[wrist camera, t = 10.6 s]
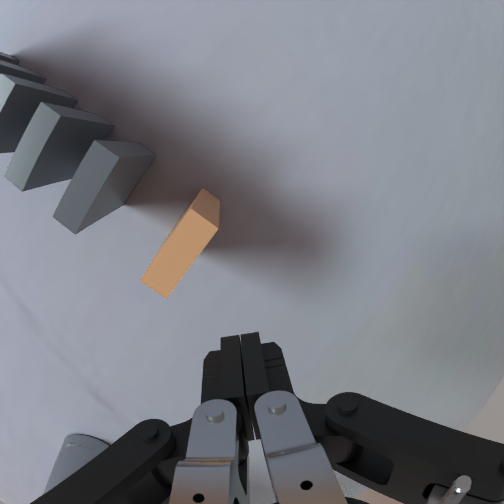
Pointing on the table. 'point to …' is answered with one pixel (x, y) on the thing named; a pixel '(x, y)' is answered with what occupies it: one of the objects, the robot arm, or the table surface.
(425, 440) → the robot arm
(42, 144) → the domino
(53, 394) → the table surface
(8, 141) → the domino
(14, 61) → the domino
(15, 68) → the domino
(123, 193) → the domino
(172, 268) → the domino
